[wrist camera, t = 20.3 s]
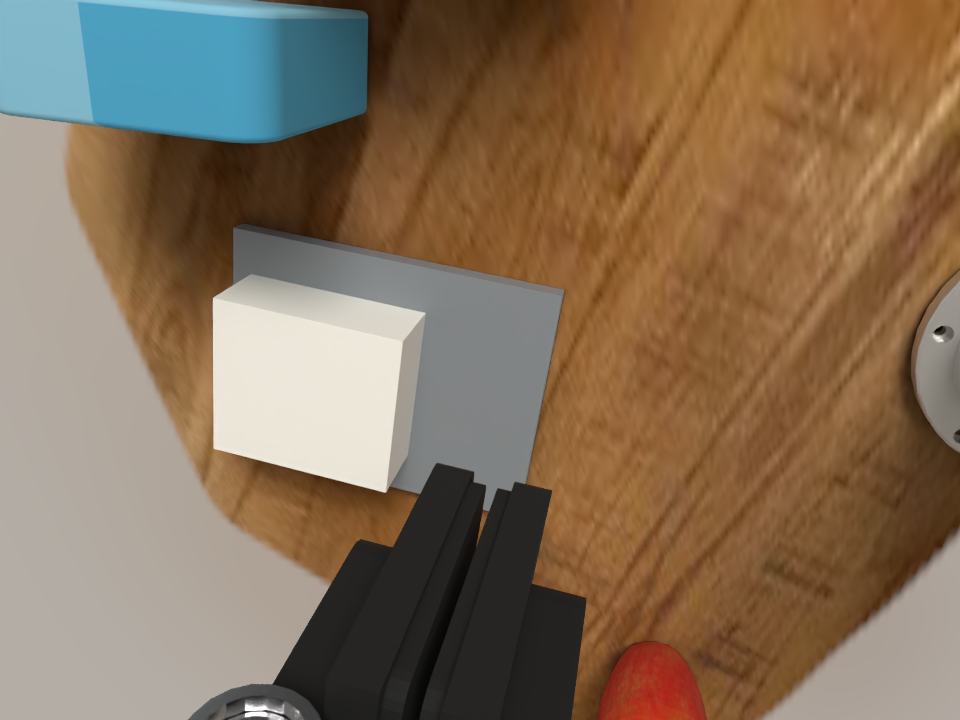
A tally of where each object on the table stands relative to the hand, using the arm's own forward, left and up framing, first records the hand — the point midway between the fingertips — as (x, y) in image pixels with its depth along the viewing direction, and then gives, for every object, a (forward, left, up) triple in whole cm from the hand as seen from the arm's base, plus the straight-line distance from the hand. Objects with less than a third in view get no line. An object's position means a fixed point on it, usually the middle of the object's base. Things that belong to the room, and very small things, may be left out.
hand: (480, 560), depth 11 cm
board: (+10, +13, -29) cm, 33 cm away
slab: (+8, +13, -26) cm, 30 cm away
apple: (-9, +29, -29) cm, 42 cm away
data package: (+18, -3, -29) cm, 35 cm away
